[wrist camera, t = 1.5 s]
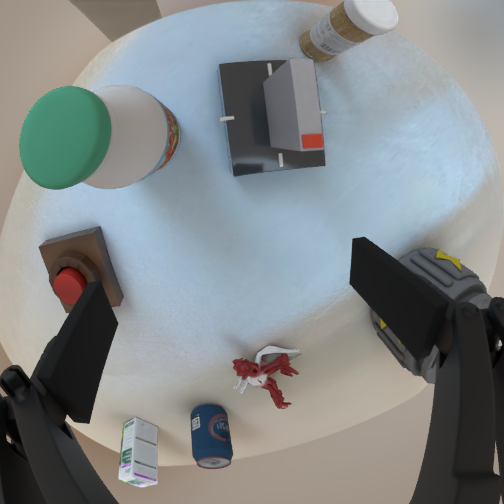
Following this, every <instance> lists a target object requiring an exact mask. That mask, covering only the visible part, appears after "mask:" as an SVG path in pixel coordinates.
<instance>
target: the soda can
mask: <svg viewBox="0 0 504 504" xmlns="http://www.w3.org/2000/svg"><path fill="white" fill-rule="evenodd" d="M191 437H192V454H193V457H194V459H195V460H196V462H197V465H198V466H199V467H202V468H207V469H219V468H224V467H227V466H229V465H230V464H231V459H232V456H233V450H232V444H231V437H230V431H229V424H228V417H227V413H226V412H225V410H224V409H223V408H222V407H221V406H219V405H217V404H212V403H205V404H200V405H198V406H197V407H195V409H194V410H193V411H192V413H191Z"/></svg>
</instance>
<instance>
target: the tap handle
mask: <svg viewBox="0 0 504 504" xmlns="http://www.w3.org/2000/svg"><path fill="white" fill-rule="evenodd" d="M263 87H264V94H265V102H266V110H267V118H268V127H269V135H270V144H271V147H272V148H280V149H288V150H295V151H314V150H324V145H323V133H322V123H321V114H320V105H319V96H318V89H317V81H316V74H315V68H314V61H313V59H294V58H290V59H289V60H287V61H286V62H285V63H284V64H283V65H282V66H280V67H279V68H278V69H277V70H276V71H275V72H274V73H273V74H272V75H270V76H269V77H268V78H267V79H266V80H265V81H264V82H263Z"/></svg>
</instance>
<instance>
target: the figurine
mask: <svg viewBox="0 0 504 504" xmlns="http://www.w3.org/2000/svg"><path fill="white" fill-rule="evenodd" d="M293 348H294V347H293ZM295 349H296V348H295ZM296 352H299V350H298V349H296V350H289V349H283V348H279V347H275V346H270V345H268V346H267V347H265V348H264V349H263V350H261V351H260V352H258V353H257V356H256V360H255V363H252V362H249V361H248V360H247V359H244V360H242V359H243V358H241V359H235V360H233V363H234V364H235V365H234V367H233V369H234V370H236V372H237V376H240V378H239V380H238V381H237V384H236V385H235V386H234V387H233V388H234V390H236V389H237V387H238V386H239V385H240V383H241V380H245V379H247V380H246V381H245V382H244V383H243V385H242V388H241V389H240V391H239V392H238V393H240V394H242V393H243V391H244V389H245V388H246V386H247V384H248V383H250V384H251V385H253V386H256V387H257V386H261V387H262V388H264V389H267V390H269V391H270V394H271V397H272V399H273V401H274V403H275V405H276V406H277V408H280V407H282V406H288V405H291V403H286V402H283V401H284V397H283V396H282V391H281V390H278V387H277V385H276V381H275V380H274V379H273V378H270V377H268V376H269V375H270V374H272V373H274V372H276V371H277V370H279V369H281V374H284V375H287V376H293V375H292V374H291V373H294V374H296V375H298V374H299V373H298V372H297V371H296V370H294V369H293V368H291V367H290V366H289V365H290V363H289V360H291V359H293V358H295V357H297V356H299V355H301V353H298V354H295V355H293V356H290V357H288V355H287V354H286V353H296ZM270 353H283V354H281V356H279V357H278V358H277V359H276V360H275V361H274V362H270V363H265V362H264V361H262V360H261V357H262V355H264V354H270ZM267 364H269V365H267ZM264 365H266V366H264ZM289 372H290V373H289ZM265 386H266V387H267V388H266V387H265ZM287 404H288V405H287ZM281 409H285V408H281Z"/></svg>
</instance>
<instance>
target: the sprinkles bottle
mask: <svg viewBox="0 0 504 504" xmlns="http://www.w3.org/2000/svg"><path fill="white" fill-rule="evenodd" d="M398 20H399V17H398V13H397V10H396V8H395V7H394V5H393V4H392V2H391V1H390V0H344V1H343V2H342V3H341V4H340V5H338V6H337V7H335V8H334V9H332V10H331V11H330V12H329V13H328V14H326V15H325V16H324V17H323V18H322V19H321V20H319V21H318V22H317V23H316V24H315V25H314V26H313V27H312V28H311V29H310V30H309V31H307V32H306V33H304V34H303V35H302V37H301V40H300V46H301V48H302V50H303V52H304V53H305V54H306V55H307V56H308V57H310V58H311V59H314V60H316V61H327V60H329V59H331V58H332V57H333V56H335V55H337V54H340V53H342V52H344V51H346V50H348V49H350V48H352V47H354V46H356V45H358V44H360V43H362V42H364V41H365V40H367V39H369V38H371V37H373V36H375V35H382V34H384V33H387V32H389V31H391V30H393V29H395V28H396V26H397V25H398V22H399V21H398Z"/></svg>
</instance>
